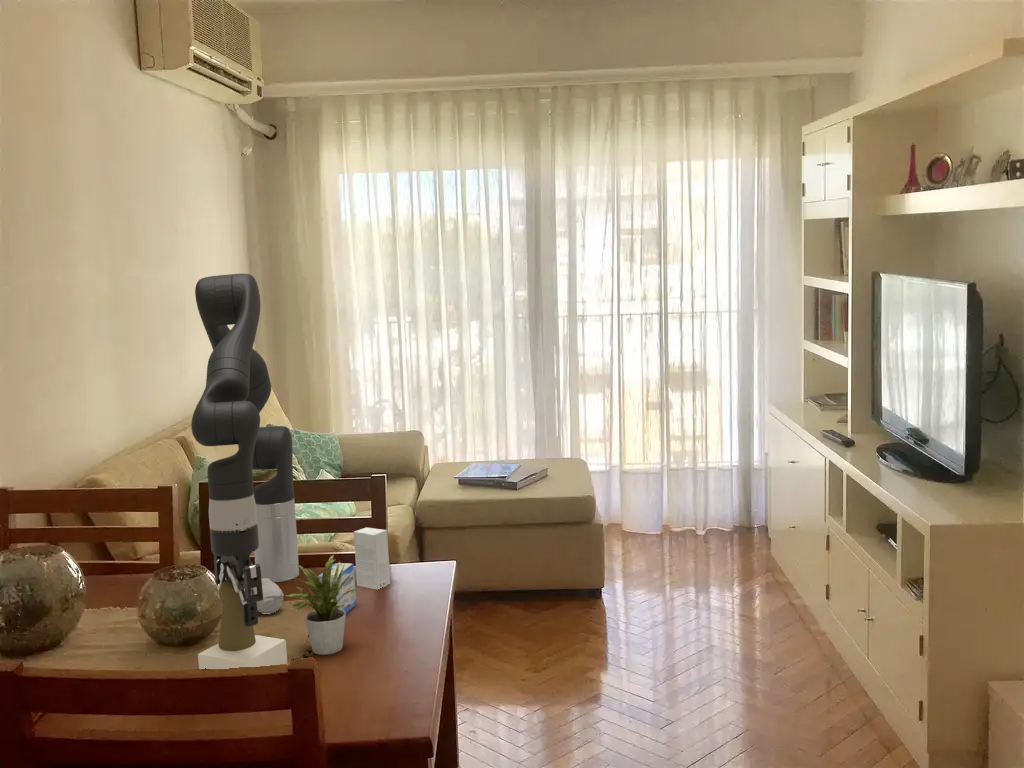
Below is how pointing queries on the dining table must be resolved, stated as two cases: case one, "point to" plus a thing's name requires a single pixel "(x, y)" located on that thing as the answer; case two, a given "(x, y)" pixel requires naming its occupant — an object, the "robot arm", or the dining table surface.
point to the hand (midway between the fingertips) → (240, 618)
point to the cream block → (245, 655)
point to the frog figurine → (270, 597)
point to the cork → (233, 621)
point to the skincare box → (372, 558)
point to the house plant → (323, 609)
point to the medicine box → (344, 586)
